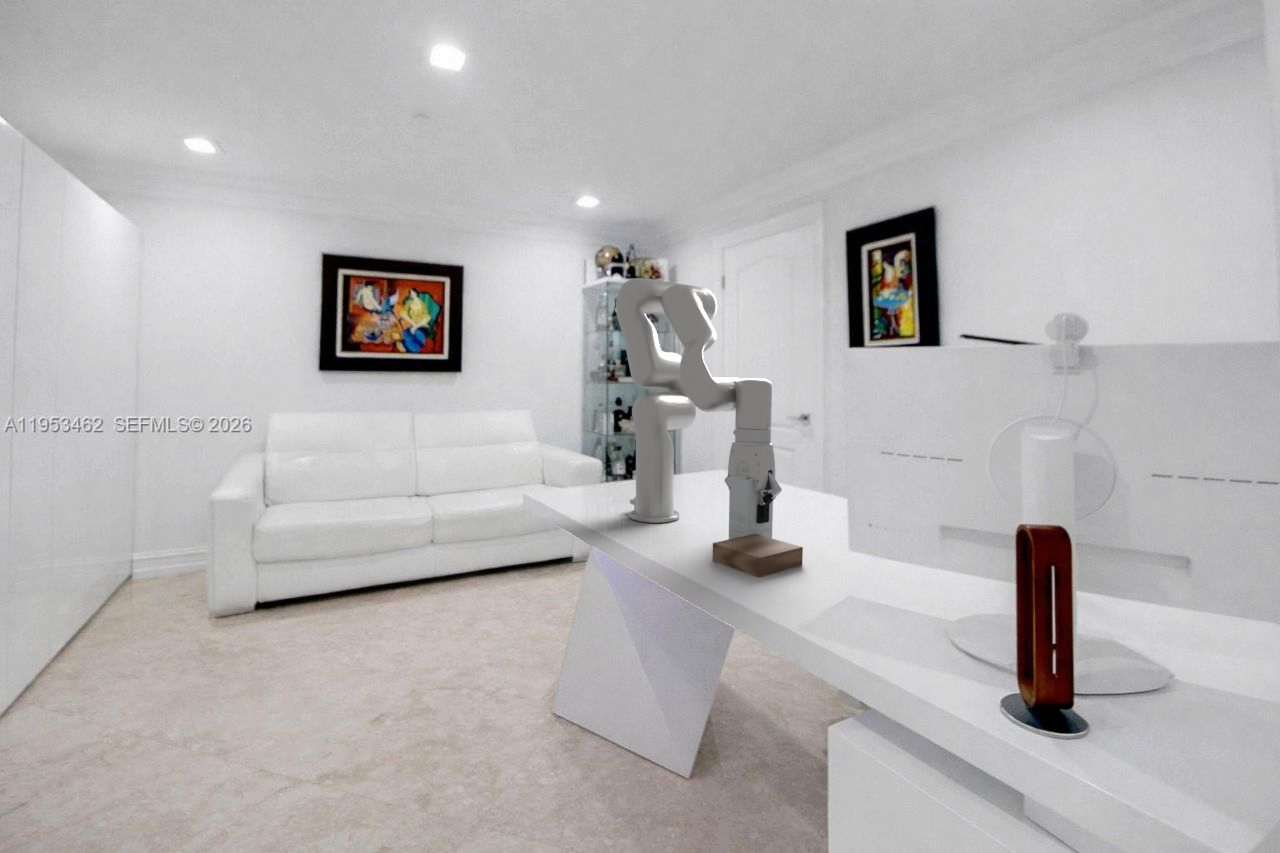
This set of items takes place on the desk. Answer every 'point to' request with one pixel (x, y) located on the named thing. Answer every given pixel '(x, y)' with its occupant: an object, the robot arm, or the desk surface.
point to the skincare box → (746, 509)
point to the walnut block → (757, 554)
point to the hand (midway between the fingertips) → (751, 518)
